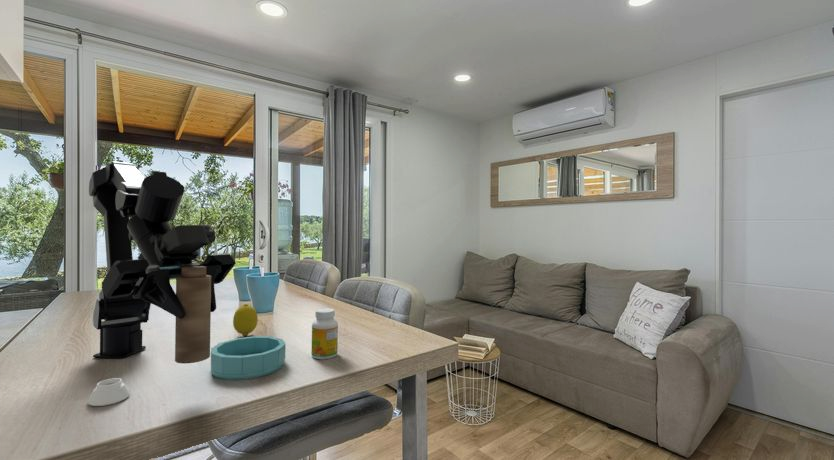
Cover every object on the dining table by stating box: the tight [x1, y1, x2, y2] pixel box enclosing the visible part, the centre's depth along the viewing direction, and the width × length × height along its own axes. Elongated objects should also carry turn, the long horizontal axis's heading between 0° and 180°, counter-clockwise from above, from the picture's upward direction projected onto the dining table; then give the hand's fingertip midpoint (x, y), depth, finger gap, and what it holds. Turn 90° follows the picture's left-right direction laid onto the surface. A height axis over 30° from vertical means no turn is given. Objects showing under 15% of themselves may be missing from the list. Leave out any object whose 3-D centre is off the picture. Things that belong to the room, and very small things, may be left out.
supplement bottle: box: [311, 307, 339, 360], centre depth 80 cm, size 5×5×10 cm
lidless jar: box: [87, 377, 131, 407], centre depth 59 cm, size 5×3×5 cm
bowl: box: [210, 335, 286, 381], centre depth 73 cm, size 13×13×4 cm
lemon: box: [232, 303, 258, 337], centre depth 93 cm, size 6×6×8 cm
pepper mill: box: [174, 266, 212, 364], centre depth 60 cm, size 5×5×14 cm
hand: (199, 313), depth 59 cm, fingers closed on pepper mill, 5 cm apart
